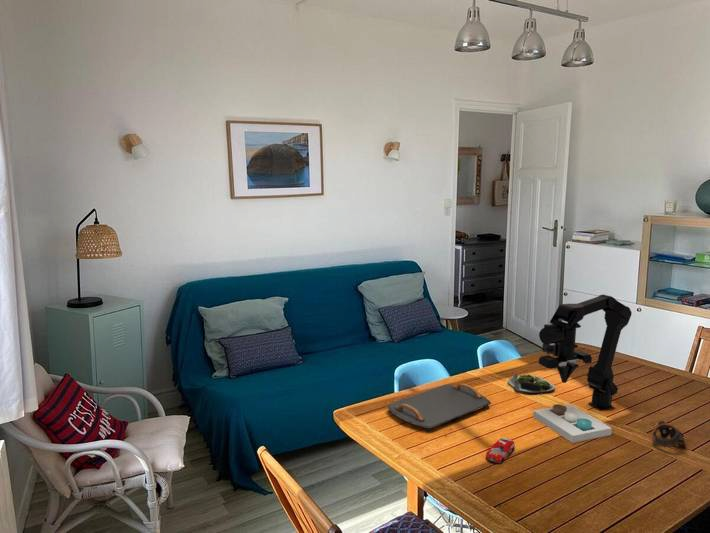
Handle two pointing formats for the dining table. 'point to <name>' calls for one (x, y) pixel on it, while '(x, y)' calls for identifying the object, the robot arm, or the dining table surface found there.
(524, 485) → the dining table surface
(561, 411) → the key walnut
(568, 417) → the key ivory
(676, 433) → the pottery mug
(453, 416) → the serving board
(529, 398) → the dining table surface
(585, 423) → the key teal
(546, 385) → the salad plate
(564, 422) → the keypad
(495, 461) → the race car
